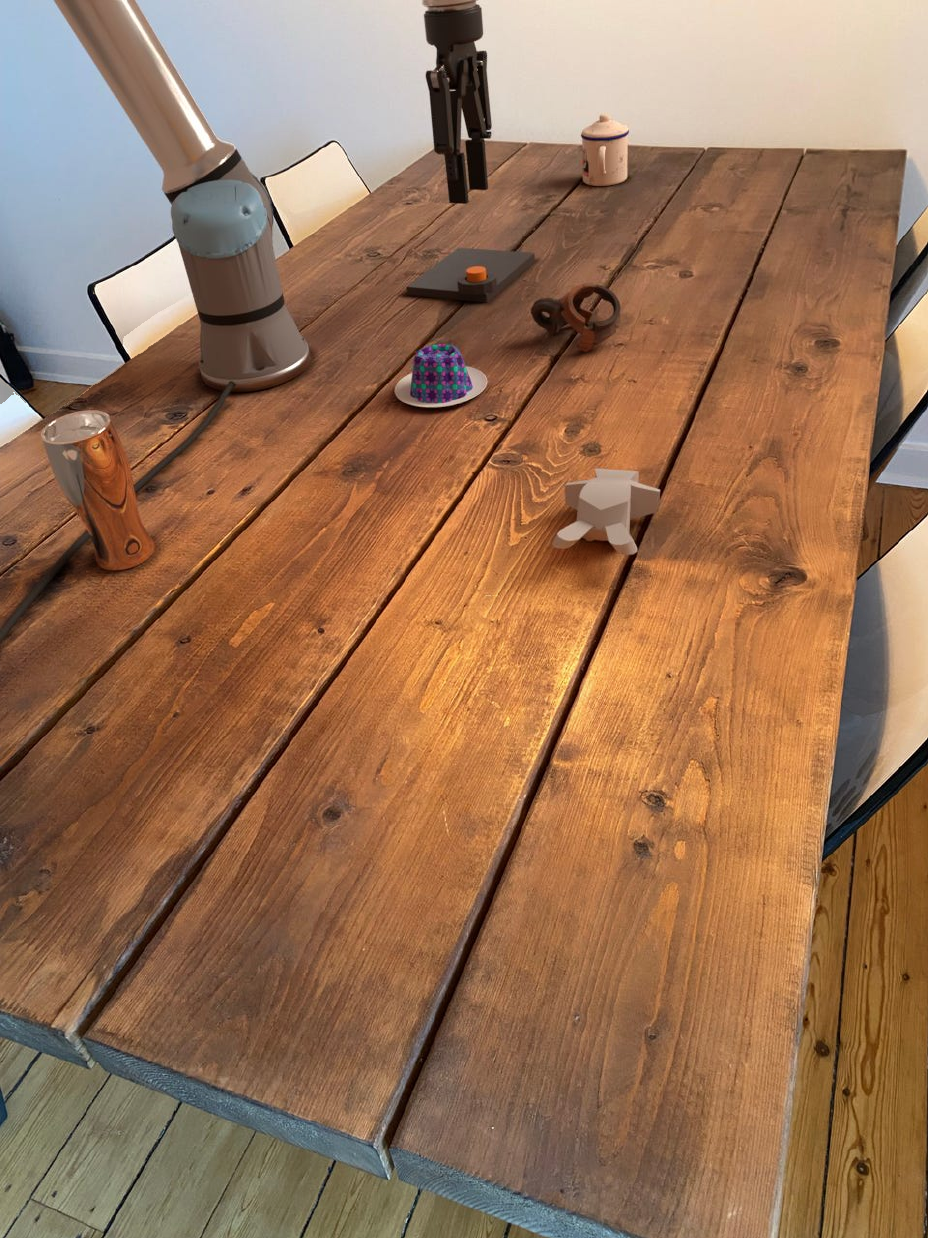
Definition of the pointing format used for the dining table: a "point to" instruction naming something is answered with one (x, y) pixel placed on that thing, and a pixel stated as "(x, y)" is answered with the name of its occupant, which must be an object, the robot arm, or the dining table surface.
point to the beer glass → (98, 486)
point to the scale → (452, 279)
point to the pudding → (440, 378)
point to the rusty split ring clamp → (578, 315)
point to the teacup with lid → (605, 152)
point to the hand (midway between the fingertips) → (469, 195)
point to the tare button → (476, 274)
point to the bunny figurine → (607, 509)
